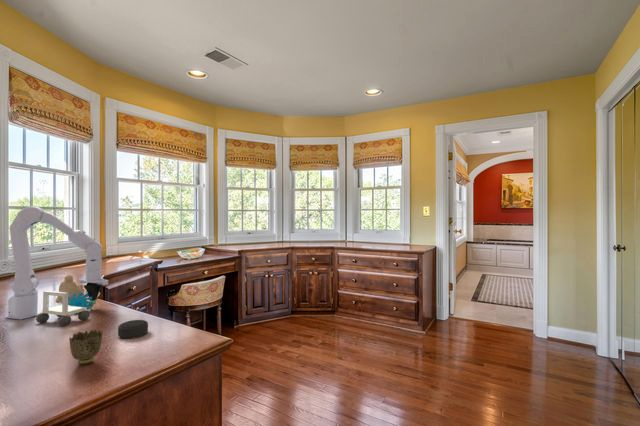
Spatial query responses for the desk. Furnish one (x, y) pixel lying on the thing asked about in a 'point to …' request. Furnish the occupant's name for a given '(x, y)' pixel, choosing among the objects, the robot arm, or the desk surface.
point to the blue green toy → (81, 301)
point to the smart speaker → (132, 329)
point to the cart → (60, 309)
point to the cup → (85, 346)
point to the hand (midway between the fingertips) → (93, 300)
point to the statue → (69, 288)
